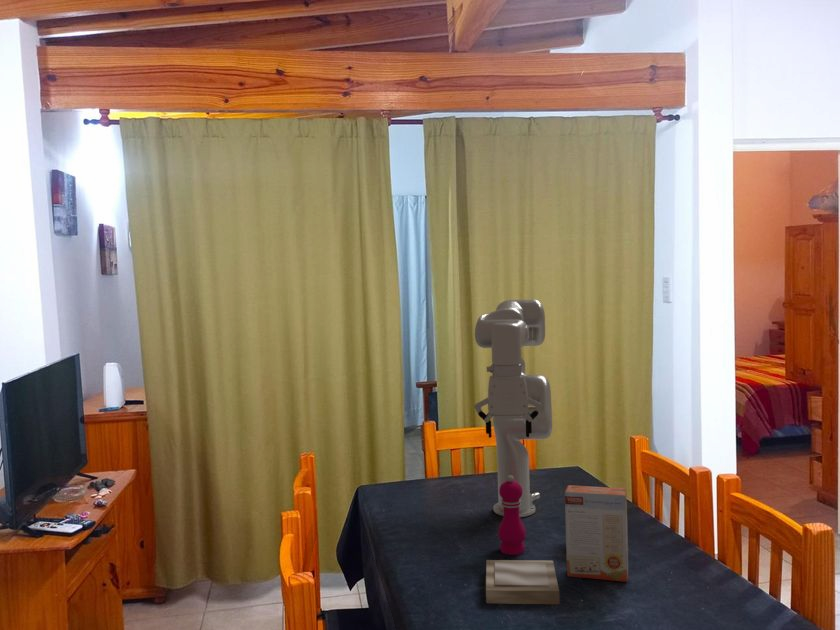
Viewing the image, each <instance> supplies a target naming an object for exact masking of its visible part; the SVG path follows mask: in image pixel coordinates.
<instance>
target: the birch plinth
mask: <svg viewBox="0 0 840 630" xmlns="http://www.w3.org/2000/svg"><path fill="white" fill-rule="evenodd" d="M485 563H486V564H485V566H486V569H485V570H486V571H485V572H486V574H485V598H486V599H485V602H486V604H504V605H506V604H509V605H511V604H513V605H516V604H517V605H519V604H520V605H560V589H559V584H558V578H557V574H556V569H555V564H554V560H540V559H539V560H537V559H536V560H534V559H533V560H532V559H531V560H522V559H521V560H520V559H519V560H518V559H517V560H516V559H515V560H513V559H511V560H509V559H506V560H505V559H498V560H497V559H494V560H493V559H486V562H485Z"/></svg>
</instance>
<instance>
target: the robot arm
mask: <svg viewBox="0 0 840 630" xmlns="http://www.w3.org/2000/svg"><path fill="white" fill-rule="evenodd" d="M545 339H546V315H545V309H544V306H543V304H542V303H541V302H540V301H539V300H538V299H532V298H531V299H507V300H504V301H502V302H500V303H499V304H498V306H497V307H496V309H495V310H494V311H490V312H488V313H484V314H481V315H480V316H479V317H478V319H477V321H476V324H475V326H474V340H475V343H476V344H477V345H478V347H479V348H482V349H491V365H489V366H486V372H487V373H491V374H492V375H490V376H489V379H488V387H487V388H488V389H487V397H486V398H484V399H483V400H481V401H479V402H477V403H475V404H474V406H473V407H474V410H475V411H476V413H477V414H478V416H479V417H480V418H481V419H482V420H483V421H484V423H485V434H486V435H488V438H489V439H491V438H492V426H493V432H494V437H495V444H496V464H497V496H498V502H496V503H495V504H494V505H493V506H492V507H493V512H494V513H495V514H497V515H499V516H501V517H503V516H504V508H503V506H502V501H501V500H502V499H503V498H502V497H501V496H500V493H499V489H500V486H501V484H502V483H504V482H505V481H508V480H507V477H508V476H509V475H511V476H513V477H514V481H516V482H518V483H519V484H520V485H521V487H522V496H521V497H520V500H521V502H520V503H521V506H519V515H520V518H524V517H528V516H532V515H533V514H535V513H536V505H535V504H533V502H534V500H538V499H540V498H541V495H540V493H539V492H538V491H536V492H533V493H531V489H530V483H531V481H530V454H529V451H528V449H527V447H526V446H525V445H524V443H522V441H523V440H545V439H548V438H549V437H551V435H552V433H553V411H552V391H551V385H550V381H549V379H548V378H547V376H545V375H542V374H526V363H525V360H524V358H523V357H522V347H536V346H541V345H542V344H543V343H544V342H545ZM486 405H487V411H488V413H485V412H484V411H483V410H482V407H484V406H486ZM491 419H492V420H491ZM492 424H493V425H492Z"/></svg>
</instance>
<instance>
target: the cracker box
mask: <svg viewBox="0 0 840 630" xmlns="http://www.w3.org/2000/svg"><path fill="white" fill-rule="evenodd" d="M627 497H628V496H627V488H623V487H609V486H608V487H605V486H589V485H587V486H586V485H573V484H572V485H571V484H570V485H569V484H568V485H567V487H566V489H565V492H564V504H565V505H564V508H565V509H564V510H565V513H564V514H565V516H564V518H565V549H566V555H565V556H566V576H567V577H571V578H572V577H574V578H581V579H593V580H600V581H601V580H602V581H603V580H605V581H611V582H612V581H613V582H620V583H621V582H623V583H626V582H628V578H629V544H628V543H629V542H628V541H629V540H628V539H629V538H628V537H629V535H628V505H627V504H628V503H627V501H628V500H627Z"/></svg>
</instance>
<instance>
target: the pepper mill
mask: <svg viewBox="0 0 840 630" xmlns="http://www.w3.org/2000/svg"><path fill="white" fill-rule="evenodd" d="M507 480H508V481H505V482H504V483H502V484H501V486H500V489H499V493H500V496H501V497H502V498H503V499H502V500H501V501H502V506H503V508H504V516H502V517H503V518H502V520H501V523H500V524H499V527H498V530H497V531H498V532H497V537H498V539H499V540H500V541H501V542H500V549H499V550H500V552H501V553H503V554H505V555H508V556H518V555H521V554H523V553H524V552H525V549H526V548H525V542H524V541H525V539H527V538H526V537H527V533H526V527H525V525H524V524H523V521H522V519H521V517H520V515H519V506H521V503H520V502H521V500H520V497H521V496H522V487H521V485H520V484H519V483H518V482H516V481H514V477H513V476H511V475H509V476H508V477H507Z"/></svg>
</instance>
